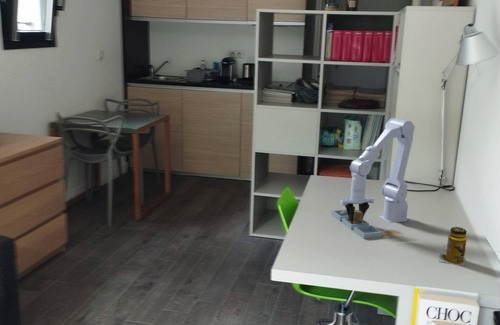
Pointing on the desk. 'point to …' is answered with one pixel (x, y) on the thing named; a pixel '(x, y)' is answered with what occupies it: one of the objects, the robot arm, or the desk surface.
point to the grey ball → (344, 213)
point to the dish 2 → (351, 226)
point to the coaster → (390, 234)
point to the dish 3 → (367, 231)
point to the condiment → (455, 247)
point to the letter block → (357, 217)
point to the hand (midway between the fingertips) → (355, 220)
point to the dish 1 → (338, 214)
